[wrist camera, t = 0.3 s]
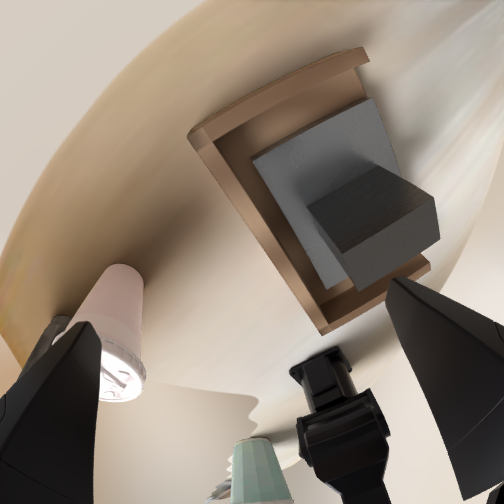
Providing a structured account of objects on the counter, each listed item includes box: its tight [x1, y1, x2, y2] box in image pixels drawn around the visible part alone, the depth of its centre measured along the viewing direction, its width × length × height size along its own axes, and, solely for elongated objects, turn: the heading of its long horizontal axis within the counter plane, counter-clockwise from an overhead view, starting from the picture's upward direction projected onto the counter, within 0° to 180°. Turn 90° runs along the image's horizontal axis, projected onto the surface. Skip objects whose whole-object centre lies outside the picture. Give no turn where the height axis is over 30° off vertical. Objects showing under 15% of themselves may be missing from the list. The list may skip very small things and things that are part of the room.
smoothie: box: [52, 264, 146, 402], centre depth 16 cm, size 6×6×14 cm
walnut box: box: [186, 47, 431, 336], centre depth 20 cm, size 19×12×4 cm, turn 30°
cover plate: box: [250, 97, 440, 292], centre depth 17 cm, size 12×9×7 cm
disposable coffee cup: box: [230, 438, 294, 504], centre depth 37 cm, size 11×11×15 cm
